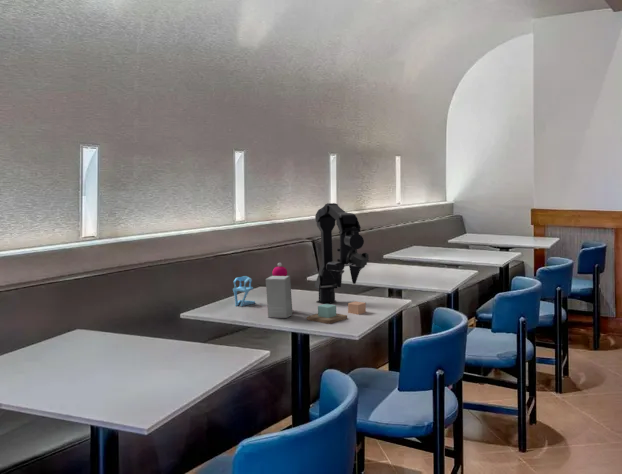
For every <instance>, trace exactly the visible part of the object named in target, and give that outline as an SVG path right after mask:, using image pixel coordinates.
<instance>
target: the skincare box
mask: <svg viewBox="0 0 622 474" xmlns="http://www.w3.org/2000/svg"><path fill="white" fill-rule="evenodd" d="M265 289H266V303H267V304H266V305H267V317H268V318H276V319H278V318H279V319H280V318H281V319H288V318H289V317H290V316H292V315H293V301H292V285H291V276H290V275H287V276H273V275H270V276H269V277H267V278H265Z"/></svg>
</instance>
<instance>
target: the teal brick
mask: <svg viewBox="0 0 622 474" xmlns="http://www.w3.org/2000/svg"><path fill="white" fill-rule="evenodd" d="M336 313H337V304H336V305H335V304H332V303H330V304H324V303H322V304H320V305H317V314H318V316H320V317H325V318H330V317H334V316H336Z"/></svg>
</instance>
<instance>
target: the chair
mask: <svg viewBox="0 0 622 474" xmlns="http://www.w3.org/2000/svg"><path fill="white" fill-rule="evenodd" d="M237 281H239V286H238V287H237V284H236V282H237ZM242 282H243V283H242ZM248 282H249V284H248V286H247V283H248ZM252 282H253V278H251V277H249V276H247V275H243V276H238V277H235V279H234V280H233V285H234V287H233V288H232V291H233V295H234V296H233V297H234V304H235V305H234V306H235V307H237V306H240V307H245V306H248V305H254V304H256V301H255V300H246V298H247V296H248V294H249V292H250V291H252V290H253V289H254V287H253V286H252ZM242 285H243V286H242ZM238 292H243V293H244V295H243V297H242V299H238Z"/></svg>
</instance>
